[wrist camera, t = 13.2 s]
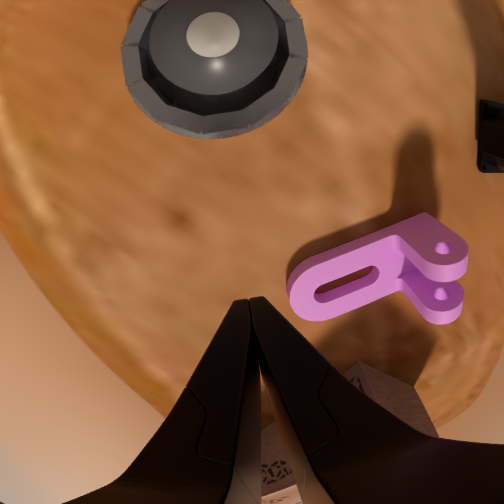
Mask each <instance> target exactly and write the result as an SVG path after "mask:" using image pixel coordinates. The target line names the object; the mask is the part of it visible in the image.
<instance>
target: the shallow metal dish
mask: <svg viewBox="0 0 504 504" xmlns="http://www.w3.org/2000/svg"><path fill="white" fill-rule="evenodd" d="M169 1H170V0H146V1H144V2H143V3H142V4H141V5H142V6H143V7H138V9H137V11H136V13H135V15H134V17H133V19H132V21H131V24H130V26H129V28H128V30H127V32H126V34H125V37H124V39H123V41H122V43H121V44H122V45H124V46H122V47H121V53H122V61H123V72H124V77H125V82H126V86H127V87H128V88H127V89H128V90H129V92H130V94H131V96H132V98H133V99H134V101H135V103H136V104H137V105H138V106H139V108H140V109H141V110H142V111H143V112H144V113H145V114H146V115H147V116H148V117H149V118H150V119H152V120H153V121H154V122H156V123H157V124H159V125H160V126H162V127H164V128H166V129H168V130H170V131H172V132H175V133H178V134H181V135H184V136H188V137H194V138H201V139H219V138H228V137H232V136H237V135H241V134H244V133H247V132H250V131H252V130H254V129H256V128H258V127H260V126H262V125H264V124H265V123H267V122H269V121H270V120H272V119H273V118H274V117H275V116H277V115H278V114H279V113H280V112H281V111H282V110H283V109H284V108H285V107H286V106H287V105H288V104H289V103H290V101H291V100H292V99H293V97H294V96H295V95H296V93H297V91H298V89H299V87H300V86H301V83H302V81H303V78H304V75H305V71H306V67H307V61H308V60H307V58H308V50H307V41H306V37H305V33H304V27H303V21H302V19H298V18H299V17H300V14H299V13H298V12H297V11H296V10H295V9H294V8H293V6H292V5H291V4H290V3H289V2H288V1H287V0H262V1H264V2H265V4H266V5H267V6H268V7H269V8H270V10H271V12H272V13H273V15H274V18H275V20H276V23H277V27H278V44H277V48H276V51H275V54H274V56H273V58H272V60H271V62H270V63H269V65H268V66H267V67H266V69H265V70H264V71H263V72H262V73H261V74H260V75H259V76H258V77H257V78H255V79H254V80H253V81H252V82H251V83H250V84H248V85H247V86H246V87H244V88H242V89H241V90H238V91H236V92H234V93H231V94H227V95H222V96H205V95H200V94H196V93H193V92H191V91H188V90H186V89H183V88H181V87H179V86H177V85H175V84H173V83H172V82H171V81H169V80H168V79H167V78H165V77H164V76H163V75H162V74H161V72H160V71H159V70H158V69H157V67H156V65H155V64H154V62H153V59H152V56H151V53H150V47H149V38H150V31H151V27H152V25H153V22H154V20H155V18H156V16H157V15H158V13H159V12H160V11H161V9H162V8H163V7H164V6H165V5H166V4H167V3H168V2H169Z"/></svg>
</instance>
